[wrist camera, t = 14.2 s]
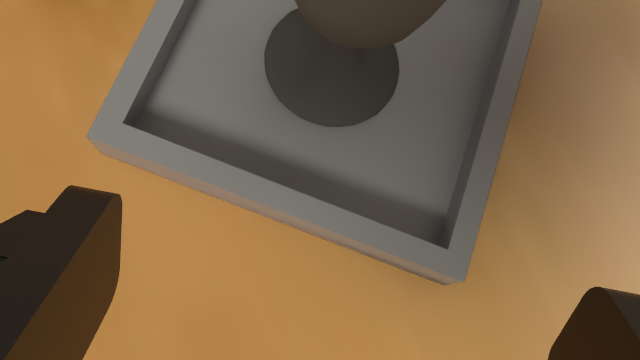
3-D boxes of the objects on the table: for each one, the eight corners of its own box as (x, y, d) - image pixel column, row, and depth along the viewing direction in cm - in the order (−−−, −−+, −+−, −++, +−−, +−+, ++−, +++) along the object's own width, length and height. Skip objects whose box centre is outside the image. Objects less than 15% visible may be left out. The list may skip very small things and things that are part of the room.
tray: (100, 153, 18) (85, 136, 16) (242, -124, 22) (242, -163, 20) (443, 285, 19) (464, 282, 17) (527, -6, 22) (551, -33, 20)
